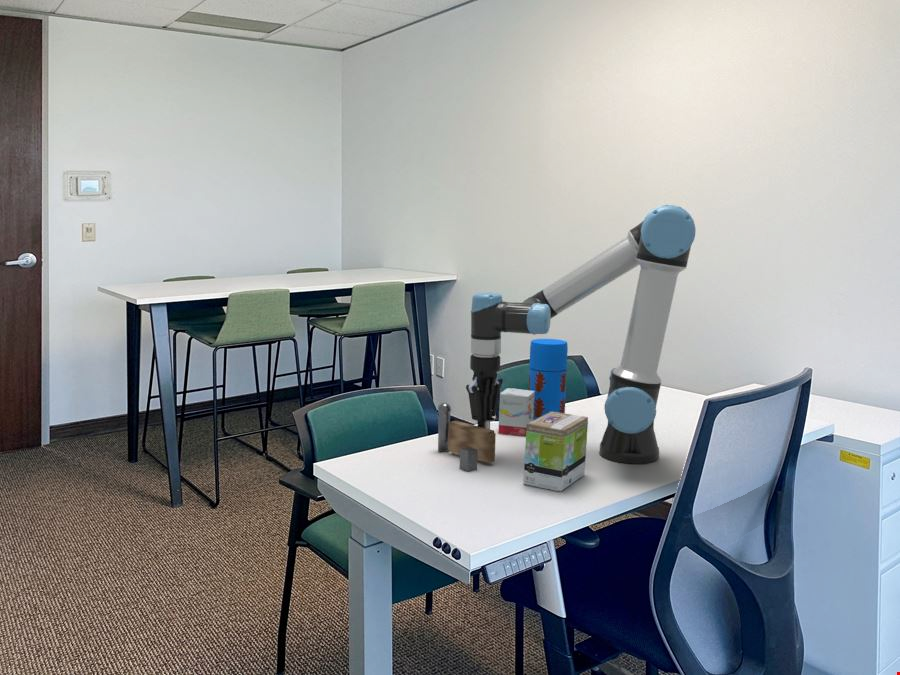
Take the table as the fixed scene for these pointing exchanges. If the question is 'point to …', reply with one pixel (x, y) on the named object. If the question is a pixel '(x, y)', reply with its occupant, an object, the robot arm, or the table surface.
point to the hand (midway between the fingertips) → (483, 445)
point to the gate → (472, 440)
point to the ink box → (515, 411)
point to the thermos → (548, 375)
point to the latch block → (468, 459)
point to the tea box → (555, 450)
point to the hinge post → (443, 426)
